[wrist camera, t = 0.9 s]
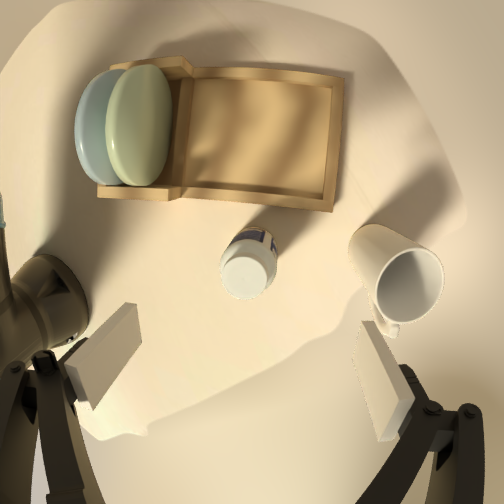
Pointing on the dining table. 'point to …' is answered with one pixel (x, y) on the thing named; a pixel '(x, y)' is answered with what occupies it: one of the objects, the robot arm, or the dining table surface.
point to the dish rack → (247, 137)
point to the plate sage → (139, 125)
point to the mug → (395, 276)
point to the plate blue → (96, 128)
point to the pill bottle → (249, 263)
